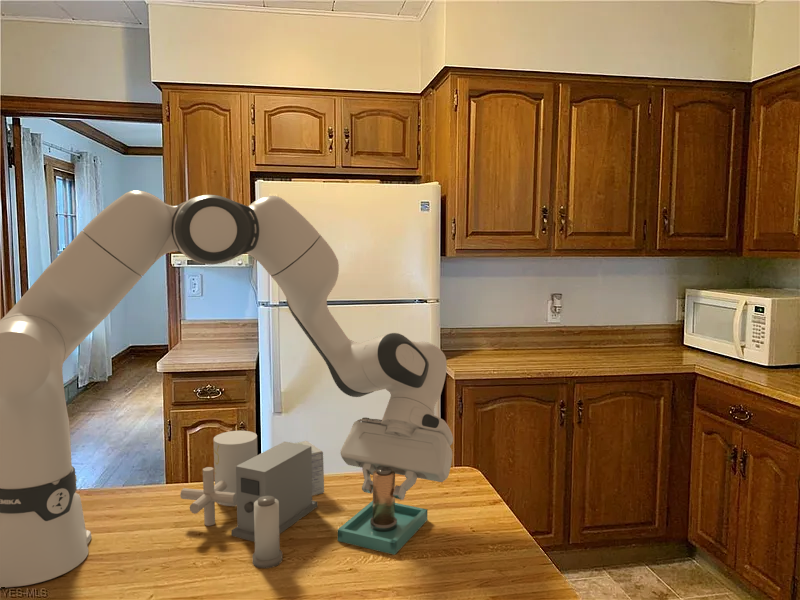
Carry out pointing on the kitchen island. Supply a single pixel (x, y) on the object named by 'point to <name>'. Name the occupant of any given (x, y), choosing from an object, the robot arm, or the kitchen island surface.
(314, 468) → the medicine box
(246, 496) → the box
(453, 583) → the kitchen island surface
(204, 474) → the pipe connector
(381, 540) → the tray
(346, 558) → the kitchen island surface
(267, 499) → the cylinder
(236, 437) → the light grey cylinder
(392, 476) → the copper cartridge
